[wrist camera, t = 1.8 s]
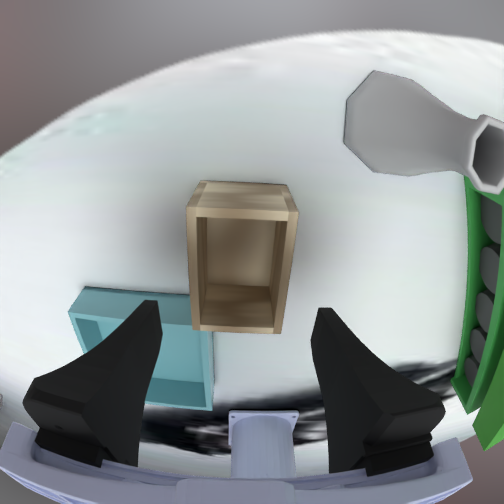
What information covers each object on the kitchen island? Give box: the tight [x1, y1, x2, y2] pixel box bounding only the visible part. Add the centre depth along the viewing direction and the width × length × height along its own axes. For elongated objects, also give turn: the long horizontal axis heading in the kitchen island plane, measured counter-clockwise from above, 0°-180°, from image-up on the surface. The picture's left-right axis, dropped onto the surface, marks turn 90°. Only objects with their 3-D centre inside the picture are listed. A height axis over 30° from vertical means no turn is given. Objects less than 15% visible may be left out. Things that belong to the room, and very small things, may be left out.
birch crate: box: [186, 181, 299, 334], centre depth 19 cm, size 6×8×5 cm
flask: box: [344, 71, 504, 195], centre depth 13 cm, size 7×7×10 cm
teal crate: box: [68, 286, 214, 411], centre depth 24 cm, size 11×11×4 cm
